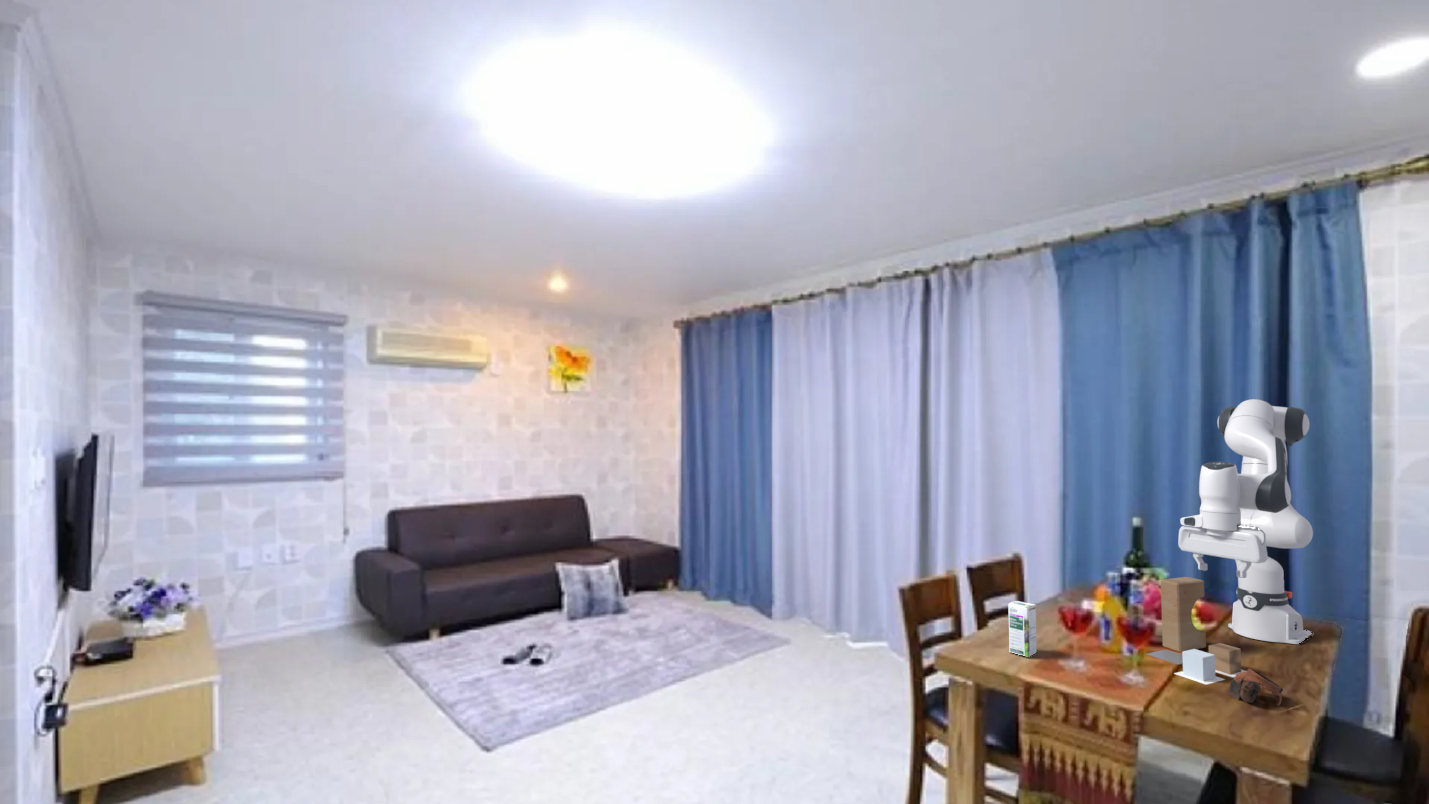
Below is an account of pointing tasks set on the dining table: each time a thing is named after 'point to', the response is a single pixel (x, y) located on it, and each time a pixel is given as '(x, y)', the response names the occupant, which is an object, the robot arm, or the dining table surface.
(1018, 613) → the syrup box
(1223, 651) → the walnut block
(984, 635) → the dining table surface
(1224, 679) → the code tile
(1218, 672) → the code tile
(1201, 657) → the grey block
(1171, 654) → the slate coaster
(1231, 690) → the camera in leather case
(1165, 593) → the decorative block
